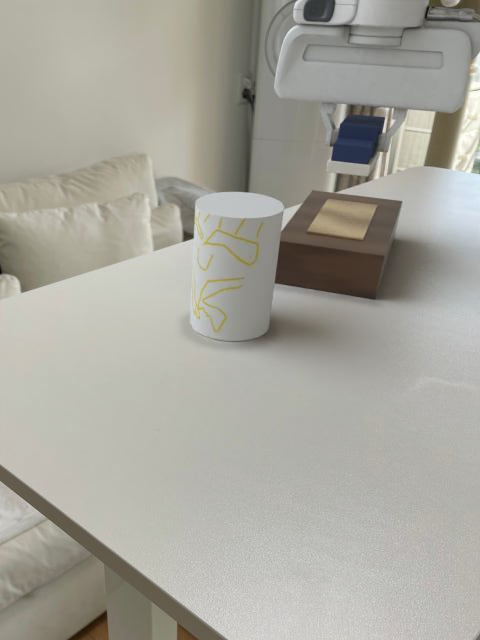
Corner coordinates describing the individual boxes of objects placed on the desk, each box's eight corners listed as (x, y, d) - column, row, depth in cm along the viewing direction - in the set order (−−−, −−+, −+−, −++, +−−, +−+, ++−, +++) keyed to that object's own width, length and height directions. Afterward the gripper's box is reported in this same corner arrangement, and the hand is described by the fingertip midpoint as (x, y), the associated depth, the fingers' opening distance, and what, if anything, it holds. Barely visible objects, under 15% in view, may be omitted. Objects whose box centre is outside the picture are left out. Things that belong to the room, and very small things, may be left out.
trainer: (341, 152, 80) (348, 113, 78) (379, 156, 79) (387, 116, 76) (325, 172, 72) (332, 129, 69) (368, 176, 70) (376, 133, 68)
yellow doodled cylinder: (173, 323, 66) (177, 204, 59) (220, 299, 71) (229, 186, 64) (239, 349, 62) (251, 224, 55) (284, 321, 67) (300, 204, 60)
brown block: (307, 226, 92) (312, 188, 89) (394, 238, 89) (403, 199, 86) (269, 281, 75) (274, 238, 72) (374, 299, 72) (385, 254, 69)
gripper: (491, 8, 66) (453, 152, 74) (292, 0, 72) (276, 134, 80) (492, 10, 61) (451, 164, 69) (279, 2, 67) (264, 145, 75)
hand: (356, 148), depth 74 cm, fingers closed on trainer, 4 cm apart
